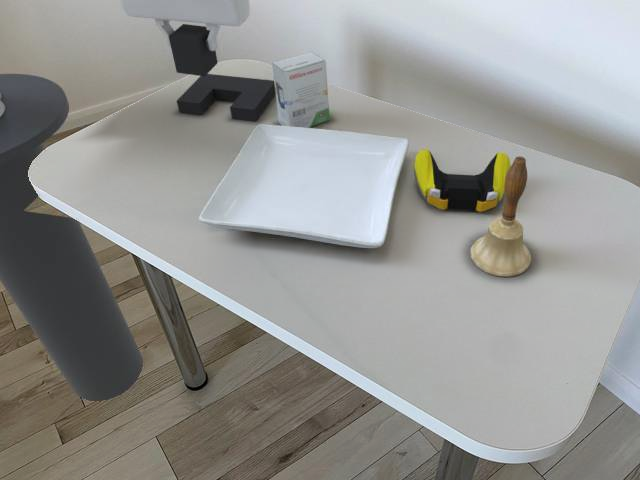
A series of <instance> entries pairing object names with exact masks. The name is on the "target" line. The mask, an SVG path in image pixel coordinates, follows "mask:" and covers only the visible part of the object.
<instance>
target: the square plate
mask: <svg viewBox="0 0 640 480" xmlns="http://www.w3.org/2000/svg"><path fill="white" fill-rule="evenodd" d="M409 145H410V141H409V139H407V138H404V137H395V136H386V135H379V134H371V133H365V132H364V133H363V132H354V131H346V130H345V131H344V130H334V129H324V128H314V127H309V128H304V127H291V126H282V125H279V124H277V125H276V124H265V123H260V124H257V125H256V126H255V127H254V129H253V130H252V132H251V134H250V135H249V136H248V138H247V139H246V141H245V143H244V145H242V148H241V149H240V151H239V153H238V155H237V156H236V157H235V159H234V161H233V162H232V164H231V165H230V167H229V169H228V170H227V172H226V174H225V175H224V177H223V178H222V180H221V181H220V183H219V184H218V186H217V187H216V188H215V190H214V191H213V193H212V195H211V197H210V198H209V199H208V201H207V203H206V204H205V205H204V208H203V209H202V211H201V213H200V214H199V216H198V221H199V222H200V223H202V224H206V225H209V226H212V227H216V228H217V227H218V228H222V229H228V230H235V231H245V232H254V233H260V234H268V235H276V236H283V237H290V238H298V239H302V240H303V239H304V240H309V241H314V242H321V243H326V244H333V245H339V246H343V247H344V246H345V247H353V248H363V249H377V248H378V249H379V248H382V247H383V245H384V243H385V241H386V237H387V235H388V229H389V225H390V218H391V213H392V208H393V202H394V198H395V195H396V194H395V193H396V191H397V190H396V189H397V186H398V181H399V178H400V176H401V175H400V174H401V171H402V168H403V165H404V162H405V159H406V156H407V153H408V150H409Z"/></svg>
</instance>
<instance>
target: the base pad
mask: <svg viewBox="0 0 640 480" xmlns="http://www.w3.org/2000/svg"><path fill="white" fill-rule="evenodd" d="M275 97H276V92H275V84H274V79H273V80H272V79H263V78H262V79H261V78H252V77H244V76H243V77H242V76H233V75H223V74H214V73H208V74H207V75H206V76H198V78H197V79H196V80H195V81H194V82H193V83H192V84H191V85H190V86H189V87H188V88H187V89H186V90H185V91H184V93H182V95H180V97H179V98H177V100H176V105H177V108H178V112H179V114H189V115H198V116H203V115H204V114H205V112H207V110H208V109H210V107H211V106H212V104H214V102H215V101H221V102H231V103H232V104H231V105H230V106H229V109H230V114H231V115H230V116H231V119H233V120H240V121H248V122H257V121H258V119H259V118H260V117H261V116H262V114H263V113H264V111H265V110H266V109H267V108H268V106H269V104H270V103H271V101H272V100H273V99H274V98H275Z"/></svg>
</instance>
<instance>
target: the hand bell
mask: <svg viewBox="0 0 640 480" xmlns="http://www.w3.org/2000/svg"><path fill="white" fill-rule="evenodd" d="M526 161H527V160H526V158H525V157H523V156H516V157H515V158H514V160H513V162H512V163H511V167H510V168H509V170H508V172H507V175H506V178H505V185H504V191H505V193H504V196H505V200H504V201H505V202H504V205H503V208H502V214H501V216H500V217H496V218H494V219H493V220H492V221H490V223H489V225H488V229H487V231H486V233H485V235H483V236H481V237H479V238H478V239H476V240H475V242H473V244H472V245H471V247H470V251H469V256H470V258H471V262H473V264H474V265H475V266H476V267H477V268H478V269H479V270H481V271H482V272H484V273H486V274H489V275H492V276H496V277H501V278H502V277H504V278H511V277H514V276H519V275H521V274H523V273H524V272H526V271H527V270H528V269H529V267H530V266H531V263H532V255H531V252H530V250H529V248H528V246H527V245H526V244H525V243H524V227H523V225H522V224H521V222H520V221H518V220H517V219H516V214H517V208H518V203H519V200H520V199H521V198H522V195H523V194H524V192H525V190H526V187H527V182H528V169H527V163H526Z"/></svg>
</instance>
